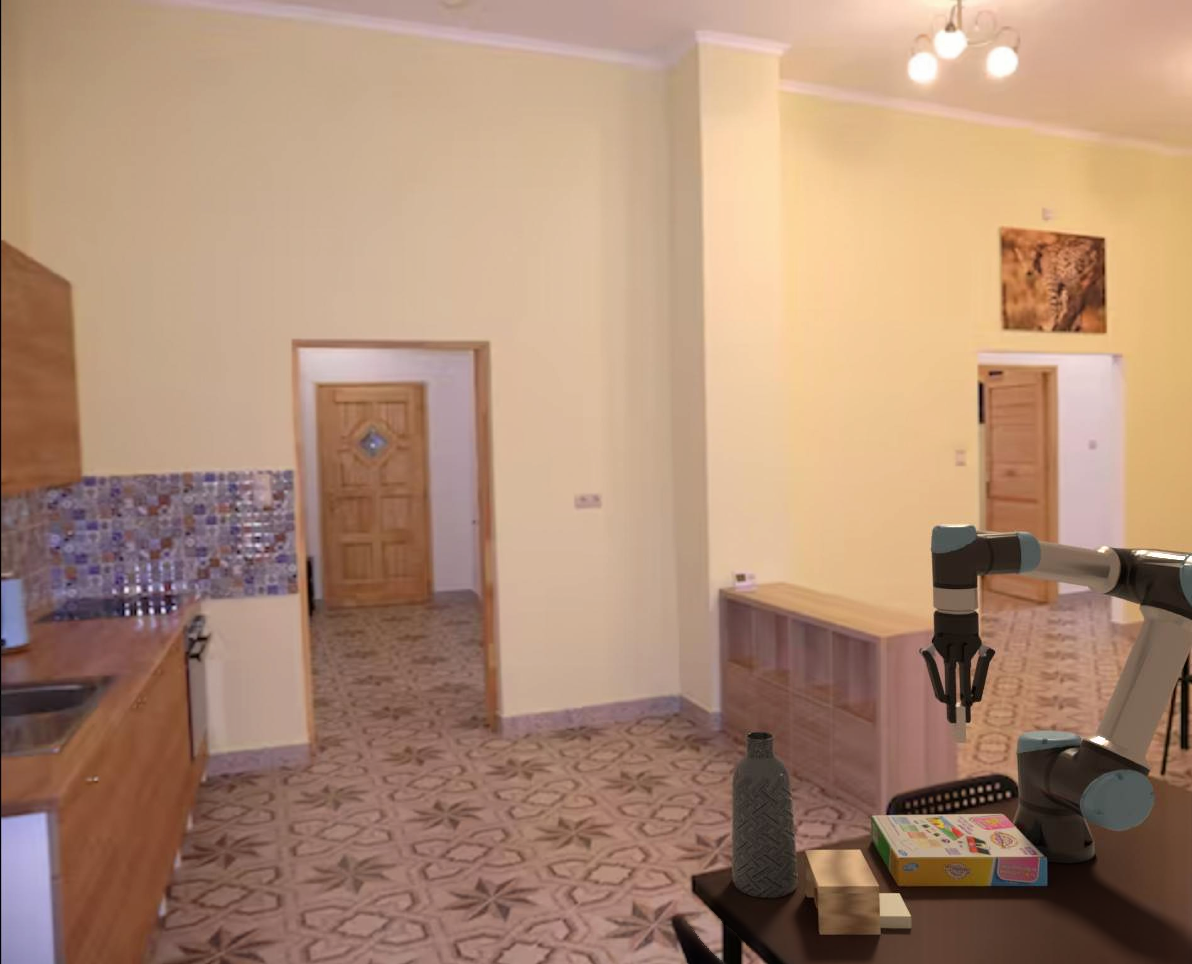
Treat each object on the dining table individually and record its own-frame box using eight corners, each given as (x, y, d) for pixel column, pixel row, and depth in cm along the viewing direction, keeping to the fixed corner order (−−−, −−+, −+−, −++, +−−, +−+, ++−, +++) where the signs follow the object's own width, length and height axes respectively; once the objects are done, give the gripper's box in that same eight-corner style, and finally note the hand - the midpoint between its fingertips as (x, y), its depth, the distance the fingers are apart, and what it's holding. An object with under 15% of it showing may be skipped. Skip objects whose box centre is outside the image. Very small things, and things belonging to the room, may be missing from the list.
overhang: (861, 893, 163) (860, 849, 163) (880, 934, 149) (879, 886, 149) (806, 894, 163) (804, 849, 163) (820, 934, 149) (818, 886, 149)
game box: (897, 887, 165) (1049, 887, 163) (896, 858, 165) (1048, 858, 162) (871, 839, 185) (1005, 839, 183) (870, 813, 185) (1004, 812, 183)
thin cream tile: (899, 907, 158) (899, 893, 158) (911, 930, 150) (911, 916, 150) (831, 906, 160) (830, 892, 160) (839, 930, 152) (838, 915, 152)
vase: (726, 894, 164) (721, 743, 164) (739, 865, 176) (734, 724, 175) (793, 903, 160) (787, 748, 159) (801, 873, 172) (796, 728, 171)
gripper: (985, 605, 163) (988, 733, 163) (912, 607, 164) (916, 734, 164) (1001, 612, 155) (1004, 746, 156) (924, 614, 156) (928, 747, 157)
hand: (959, 740), depth 160 cm, fingers closed
